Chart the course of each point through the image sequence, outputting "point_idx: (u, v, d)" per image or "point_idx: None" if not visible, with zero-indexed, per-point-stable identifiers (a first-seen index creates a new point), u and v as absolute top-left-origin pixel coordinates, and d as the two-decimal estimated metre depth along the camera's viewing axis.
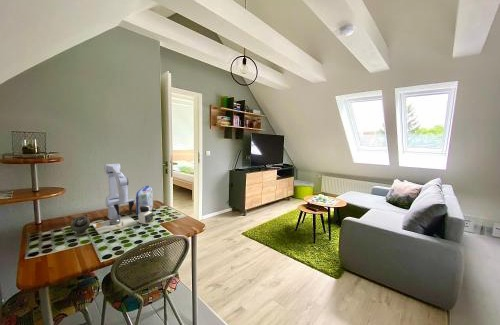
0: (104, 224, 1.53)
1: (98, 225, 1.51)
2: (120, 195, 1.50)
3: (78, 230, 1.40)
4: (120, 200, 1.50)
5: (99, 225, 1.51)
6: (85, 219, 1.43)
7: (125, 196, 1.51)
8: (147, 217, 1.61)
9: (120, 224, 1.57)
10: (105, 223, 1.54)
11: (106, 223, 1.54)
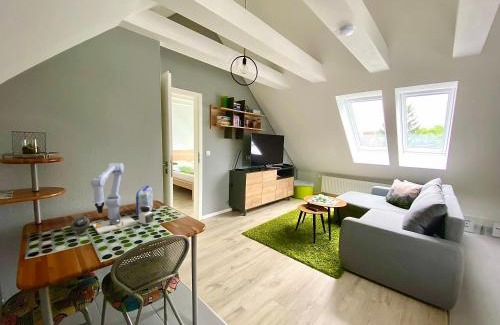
0: (104, 224, 1.53)
1: (98, 225, 1.51)
2: None
3: (78, 230, 1.40)
4: None
5: (99, 225, 1.51)
6: (85, 219, 1.43)
7: (94, 196, 1.53)
8: (147, 217, 1.61)
9: (120, 224, 1.57)
10: (105, 223, 1.54)
11: (106, 223, 1.54)
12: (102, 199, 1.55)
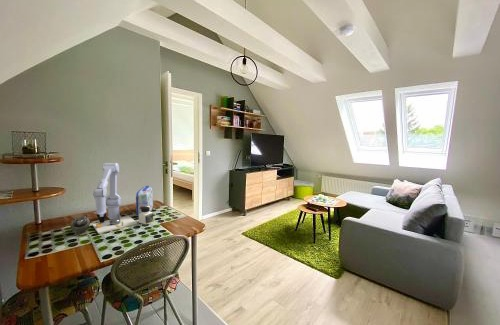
0: (104, 224, 1.53)
1: (98, 225, 1.51)
2: None
3: (78, 230, 1.40)
4: None
5: (99, 225, 1.51)
6: (85, 219, 1.43)
7: (96, 207, 1.51)
8: (147, 217, 1.61)
9: (120, 224, 1.57)
10: (105, 223, 1.54)
11: (106, 223, 1.54)
12: (104, 210, 1.53)
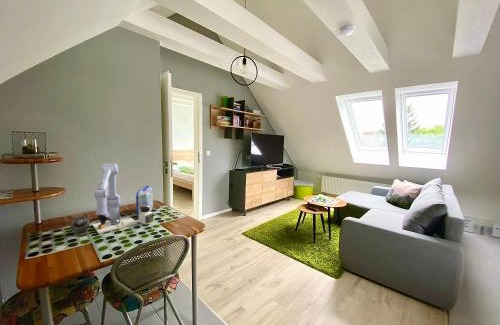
0: (107, 225, 1.52)
1: (102, 226, 1.49)
2: None
3: (78, 230, 1.40)
4: None
5: (103, 226, 1.49)
6: (85, 219, 1.43)
7: (98, 208, 1.49)
8: (147, 217, 1.61)
9: (120, 224, 1.57)
10: (107, 224, 1.53)
11: (108, 223, 1.53)
12: (106, 210, 1.52)
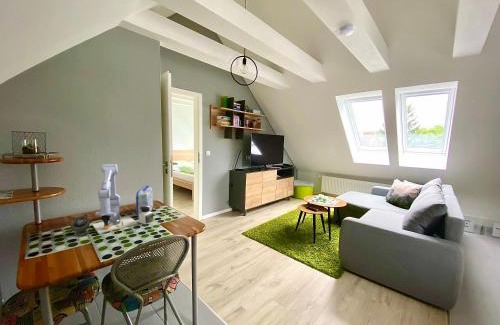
0: (111, 225, 1.52)
1: (108, 226, 1.49)
2: None
3: (78, 230, 1.40)
4: None
5: (108, 226, 1.49)
6: (85, 219, 1.43)
7: (103, 209, 1.47)
8: (147, 217, 1.61)
9: (120, 224, 1.57)
10: (111, 224, 1.53)
11: (111, 223, 1.53)
12: (110, 210, 1.52)
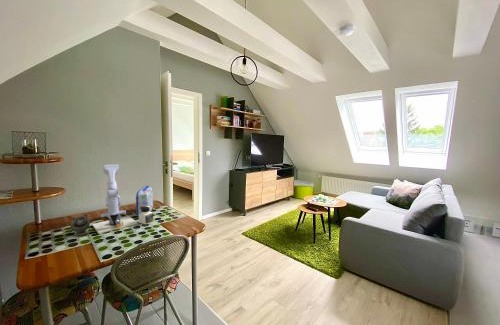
0: None
1: None
2: (109, 207, 1.49)
3: (78, 230, 1.40)
4: (109, 212, 1.49)
5: None
6: (85, 219, 1.43)
7: (114, 208, 1.49)
8: (147, 217, 1.61)
9: None
10: (118, 222, 1.55)
11: None
12: None
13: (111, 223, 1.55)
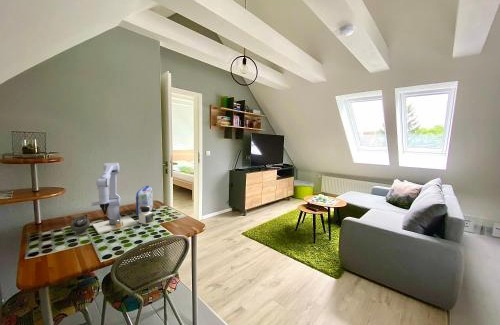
0: None
1: None
2: (99, 196, 1.48)
3: (78, 230, 1.40)
4: (100, 201, 1.49)
5: None
6: (85, 219, 1.43)
7: (104, 197, 1.49)
8: (147, 217, 1.61)
9: None
10: None
11: None
12: None
13: (111, 223, 1.55)
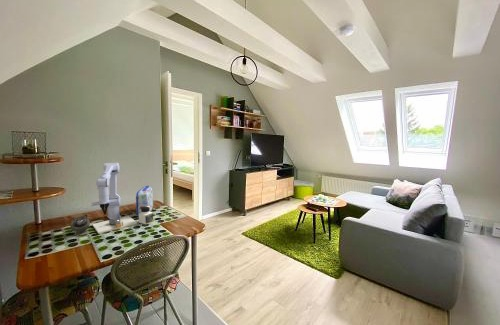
0: None
1: None
2: (99, 196, 1.48)
3: (78, 230, 1.40)
4: (100, 201, 1.49)
5: None
6: (85, 219, 1.43)
7: (104, 197, 1.49)
8: (147, 217, 1.61)
9: None
10: None
11: None
12: None
13: (111, 223, 1.55)
